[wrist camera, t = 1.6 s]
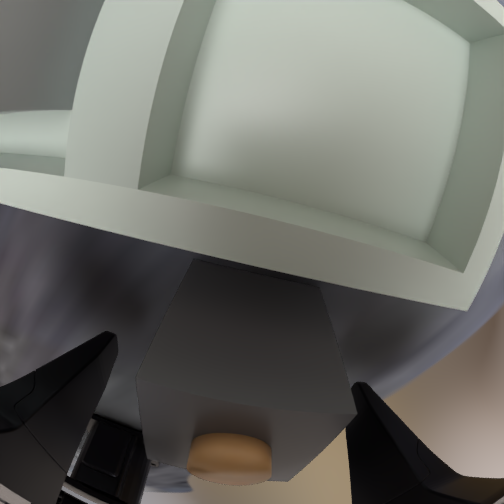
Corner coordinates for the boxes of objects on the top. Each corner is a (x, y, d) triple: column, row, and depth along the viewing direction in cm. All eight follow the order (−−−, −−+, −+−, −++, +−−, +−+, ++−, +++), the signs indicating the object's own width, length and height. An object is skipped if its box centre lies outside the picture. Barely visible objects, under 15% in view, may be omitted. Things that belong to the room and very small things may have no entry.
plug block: (282, 371, 13) (288, 499, 6) (181, 350, 12) (142, 476, 6) (319, 287, 11) (364, 440, 5) (193, 258, 10) (123, 406, 4)
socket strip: (423, 266, 10) (467, 311, 7) (-20, 169, 9) (-64, 185, 6) (476, 42, 6) (526, 30, 3) (23, -11, 5) (-15, -23, 1)
